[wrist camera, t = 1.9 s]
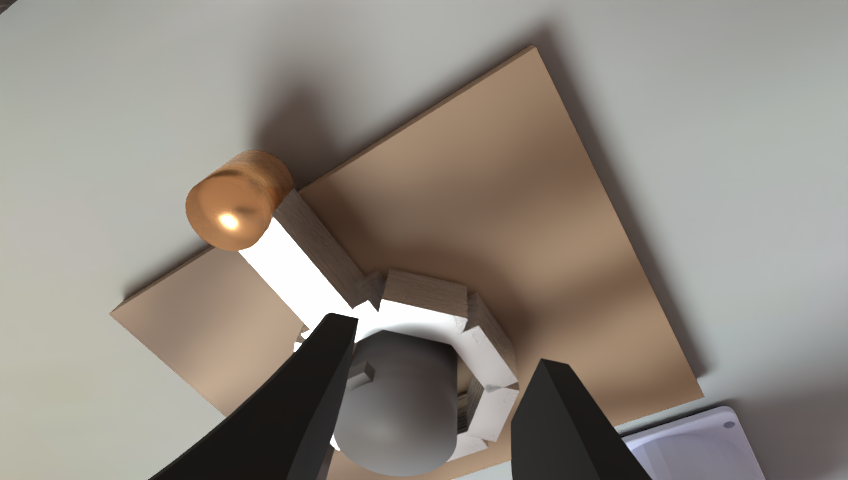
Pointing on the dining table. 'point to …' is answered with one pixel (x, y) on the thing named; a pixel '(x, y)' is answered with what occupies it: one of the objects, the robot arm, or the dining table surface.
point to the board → (450, 261)
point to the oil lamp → (5, 4)
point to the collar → (353, 285)
